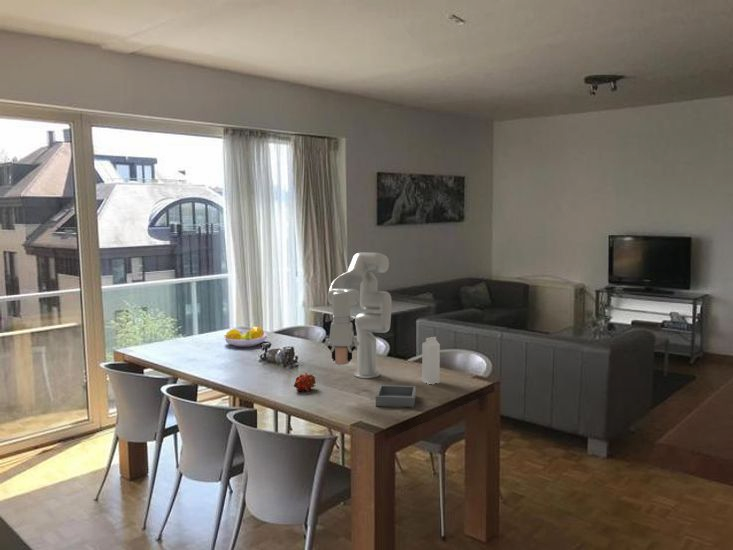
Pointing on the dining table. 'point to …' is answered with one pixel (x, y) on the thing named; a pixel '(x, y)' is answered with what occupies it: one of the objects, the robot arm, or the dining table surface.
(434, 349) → the milk
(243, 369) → the dining table surface
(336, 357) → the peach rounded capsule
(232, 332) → the fruit bowl
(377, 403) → the bin
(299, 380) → the dragon fruit
